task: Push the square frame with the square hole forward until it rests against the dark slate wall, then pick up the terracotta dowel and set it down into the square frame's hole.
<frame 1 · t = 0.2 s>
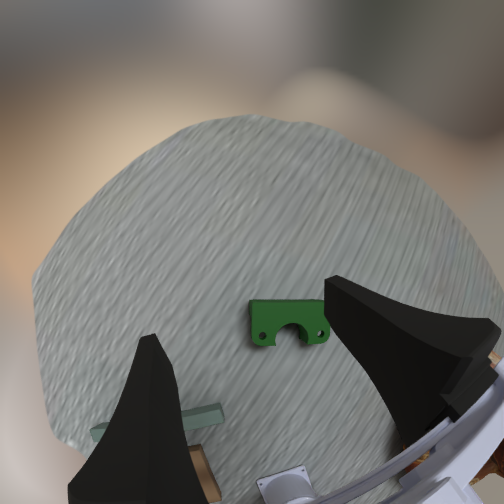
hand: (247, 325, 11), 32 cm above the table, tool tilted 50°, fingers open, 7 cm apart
clamp: (284, 322, 43), on the table
wall: (159, 421, 35), on the table
jug: (444, 419, 38), on the table
square frame: (180, 474, 32), on the table
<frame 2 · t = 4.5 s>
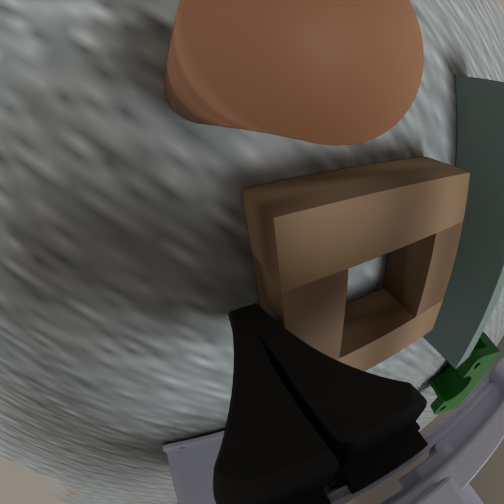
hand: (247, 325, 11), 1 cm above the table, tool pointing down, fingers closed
dowel: (209, 81, 8), on the table
clamp: (445, 360, 30), on the table
wall: (455, 224, 15), on the table
square frame: (352, 265, 13), on the table, touching gripper
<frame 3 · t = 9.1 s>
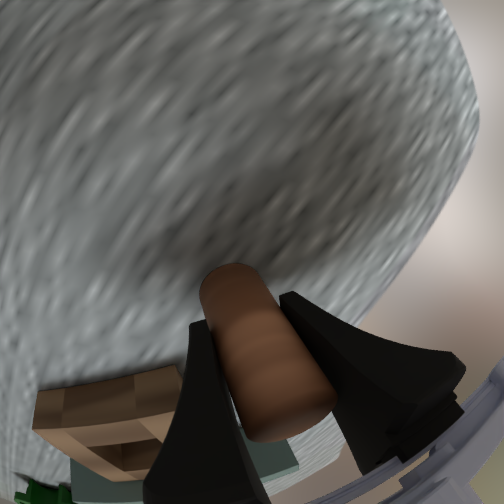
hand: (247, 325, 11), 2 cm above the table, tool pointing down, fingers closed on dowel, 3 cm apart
dowel: (231, 291, 13), on the table, touching gripper
clamp: (52, 485, 20), on the table
wall: (166, 451, 19), on the table
square frame: (133, 421, 16), on the table
when the fingers open (4 cm above the table, at t = 12.9 s): dowel drops 1 cm, resting in square frame.
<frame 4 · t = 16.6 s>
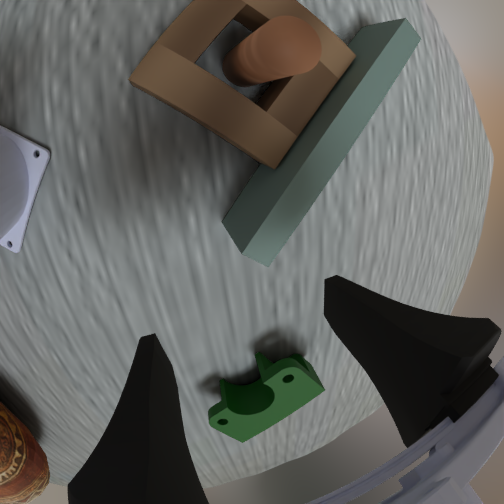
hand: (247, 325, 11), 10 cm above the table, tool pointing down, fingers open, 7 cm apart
dowel: (244, 66, 15), resting in square frame
clamp: (251, 372, 29), on the table
wall: (309, 116, 18), on the table
square frame: (241, 63, 15), on the table
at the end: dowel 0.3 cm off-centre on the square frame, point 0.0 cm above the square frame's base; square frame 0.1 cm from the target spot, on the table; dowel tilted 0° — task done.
